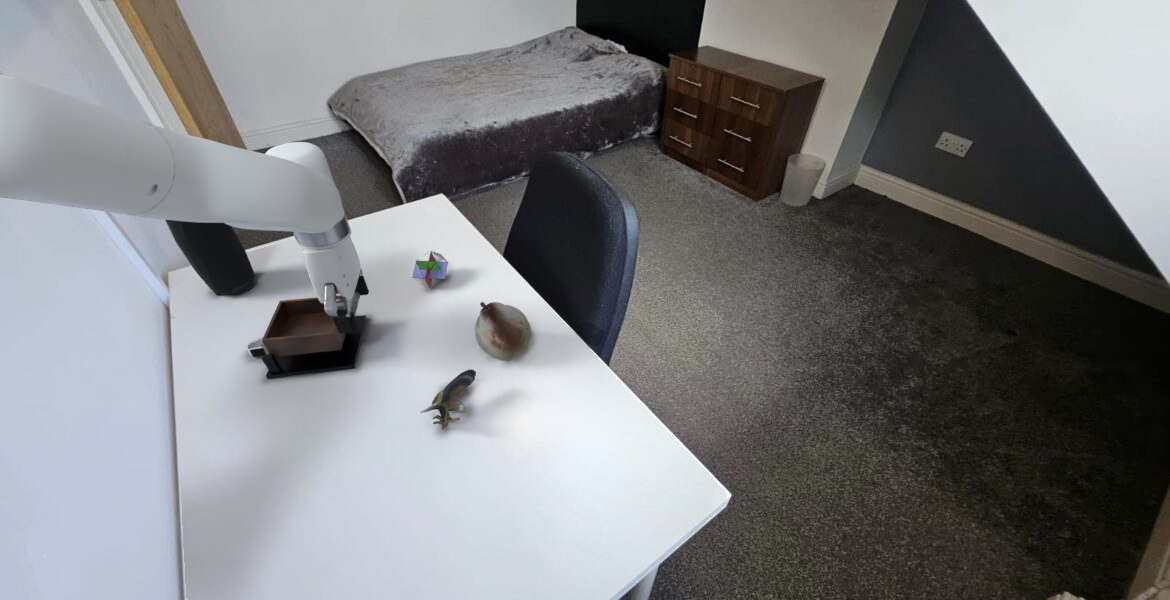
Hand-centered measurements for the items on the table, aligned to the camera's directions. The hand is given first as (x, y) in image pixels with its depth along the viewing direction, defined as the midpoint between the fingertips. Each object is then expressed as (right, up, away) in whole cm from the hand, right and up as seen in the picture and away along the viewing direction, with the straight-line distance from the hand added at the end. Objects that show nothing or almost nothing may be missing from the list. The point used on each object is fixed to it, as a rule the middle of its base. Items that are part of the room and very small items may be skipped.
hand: (355, 312), depth 82 cm
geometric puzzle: (+8, +6, +18) cm, 21 cm away
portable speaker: (-33, +5, +16) cm, 37 cm away
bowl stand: (-8, -6, +4) cm, 11 cm away
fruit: (+25, -7, +4) cm, 27 cm away
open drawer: (-6, -4, +2) cm, 7 cm away
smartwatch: (-20, -7, +1) cm, 21 cm away
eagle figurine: (+19, -16, -6) cm, 25 cm away
